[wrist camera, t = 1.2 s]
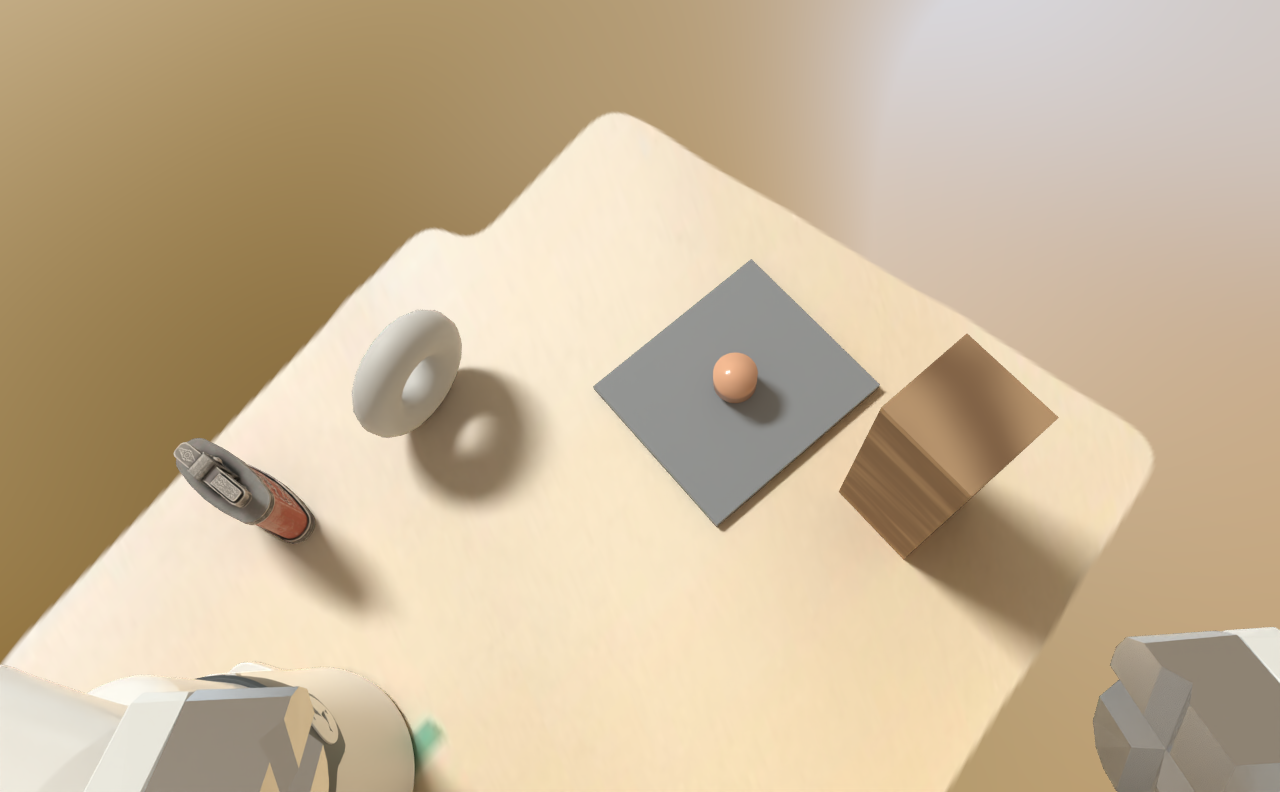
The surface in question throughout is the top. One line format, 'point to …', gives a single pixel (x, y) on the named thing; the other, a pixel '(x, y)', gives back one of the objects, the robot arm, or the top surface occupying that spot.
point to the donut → (406, 373)
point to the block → (941, 444)
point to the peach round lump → (735, 377)
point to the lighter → (243, 490)
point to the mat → (735, 432)
